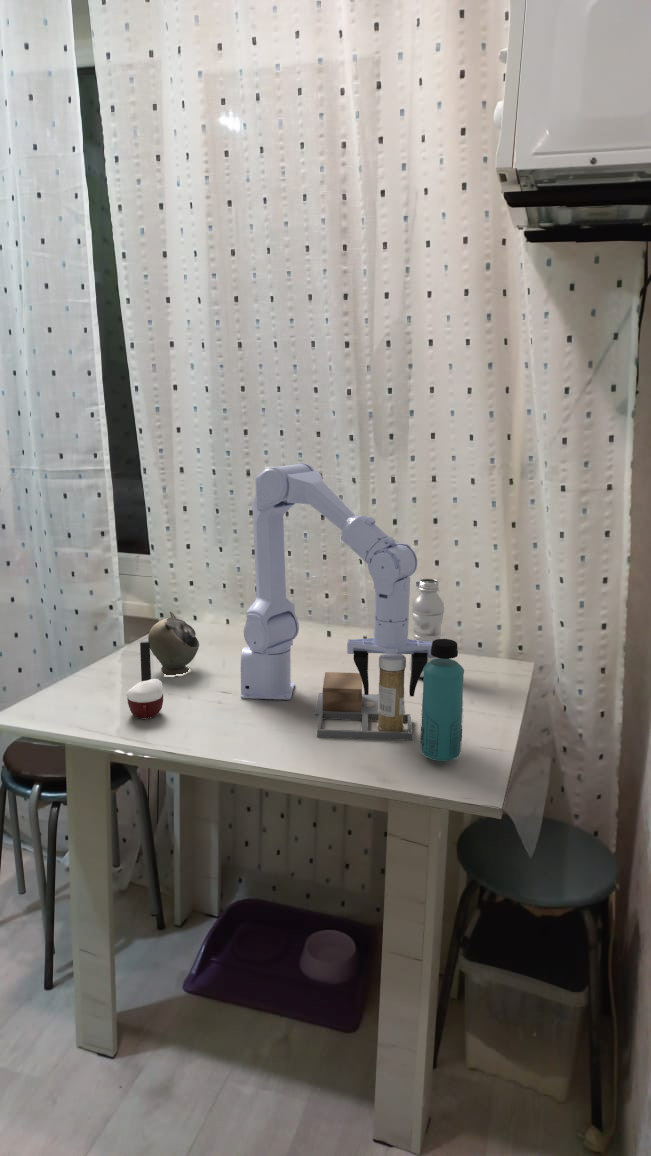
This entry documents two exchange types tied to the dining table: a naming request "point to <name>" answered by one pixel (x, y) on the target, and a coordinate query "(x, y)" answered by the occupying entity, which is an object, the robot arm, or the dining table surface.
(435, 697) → the beverage bottle
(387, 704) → the spice jar
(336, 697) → the cardboard box
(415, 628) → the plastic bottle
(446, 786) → the dining table surface
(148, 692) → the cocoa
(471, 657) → the dining table surface
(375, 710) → the board
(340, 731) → the socket frames
